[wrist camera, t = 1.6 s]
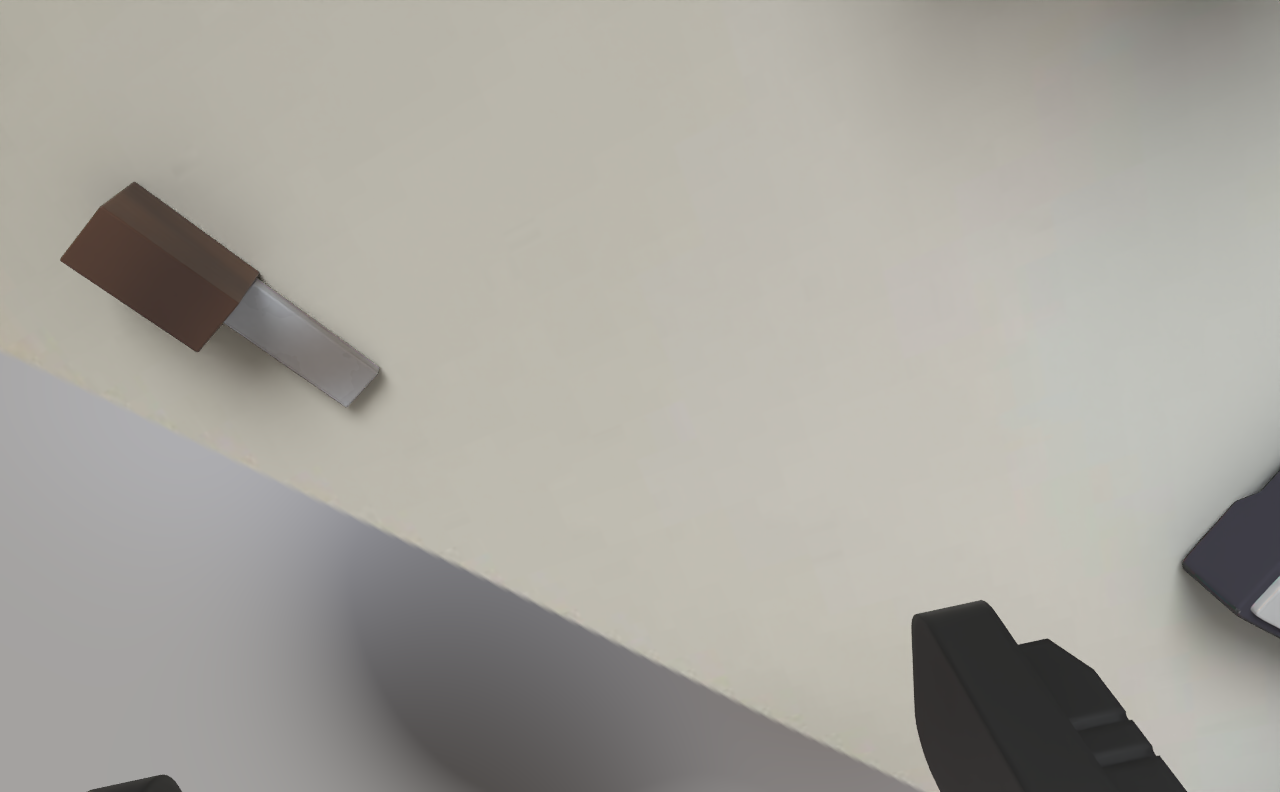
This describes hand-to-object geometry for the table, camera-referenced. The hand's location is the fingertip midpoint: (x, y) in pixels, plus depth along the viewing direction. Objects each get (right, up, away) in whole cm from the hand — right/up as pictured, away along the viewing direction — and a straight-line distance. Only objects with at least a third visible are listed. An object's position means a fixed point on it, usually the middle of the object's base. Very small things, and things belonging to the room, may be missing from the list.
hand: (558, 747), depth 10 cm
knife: (-13, +7, +21) cm, 26 cm away
